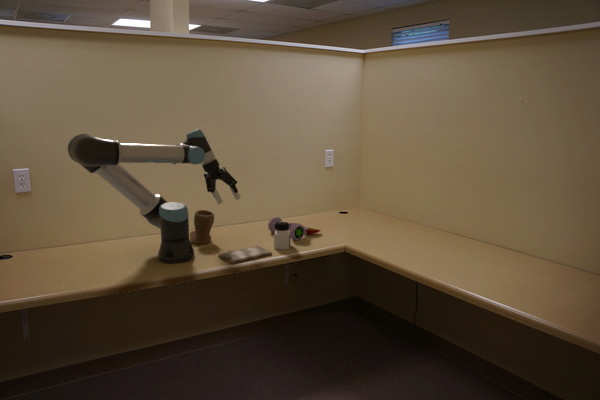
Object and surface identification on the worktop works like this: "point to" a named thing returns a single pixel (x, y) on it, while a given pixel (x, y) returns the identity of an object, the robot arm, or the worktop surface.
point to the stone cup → (202, 226)
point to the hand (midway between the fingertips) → (229, 201)
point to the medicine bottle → (282, 236)
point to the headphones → (292, 229)
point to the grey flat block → (244, 254)
